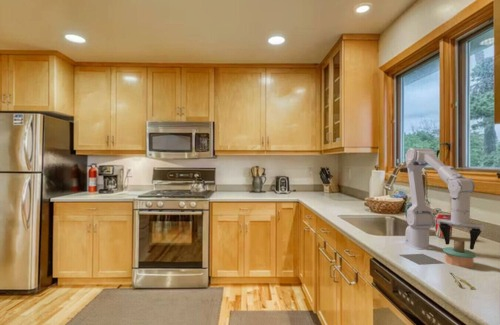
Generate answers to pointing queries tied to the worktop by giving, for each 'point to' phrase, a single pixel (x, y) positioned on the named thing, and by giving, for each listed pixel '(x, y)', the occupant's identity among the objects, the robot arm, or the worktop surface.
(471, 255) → the lid
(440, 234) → the soda can
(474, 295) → the worktop surface
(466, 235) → the worktop surface
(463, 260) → the bowl
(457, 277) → the tongs
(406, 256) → the mat
